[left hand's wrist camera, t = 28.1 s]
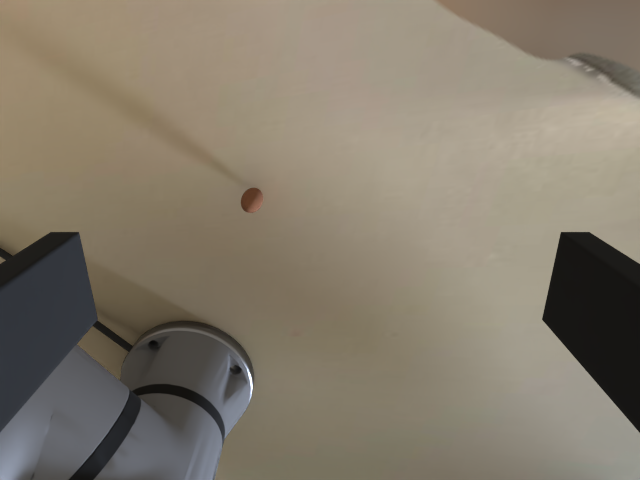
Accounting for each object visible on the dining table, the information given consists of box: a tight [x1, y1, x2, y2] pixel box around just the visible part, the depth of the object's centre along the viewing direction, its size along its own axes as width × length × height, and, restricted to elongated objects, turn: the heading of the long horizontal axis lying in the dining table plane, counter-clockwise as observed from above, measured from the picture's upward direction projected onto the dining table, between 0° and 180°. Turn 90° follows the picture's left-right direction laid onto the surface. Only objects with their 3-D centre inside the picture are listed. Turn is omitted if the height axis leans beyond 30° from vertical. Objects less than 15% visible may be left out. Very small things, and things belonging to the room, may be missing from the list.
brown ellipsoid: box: [241, 188, 263, 213], centre depth 43 cm, size 2×2×5 cm
